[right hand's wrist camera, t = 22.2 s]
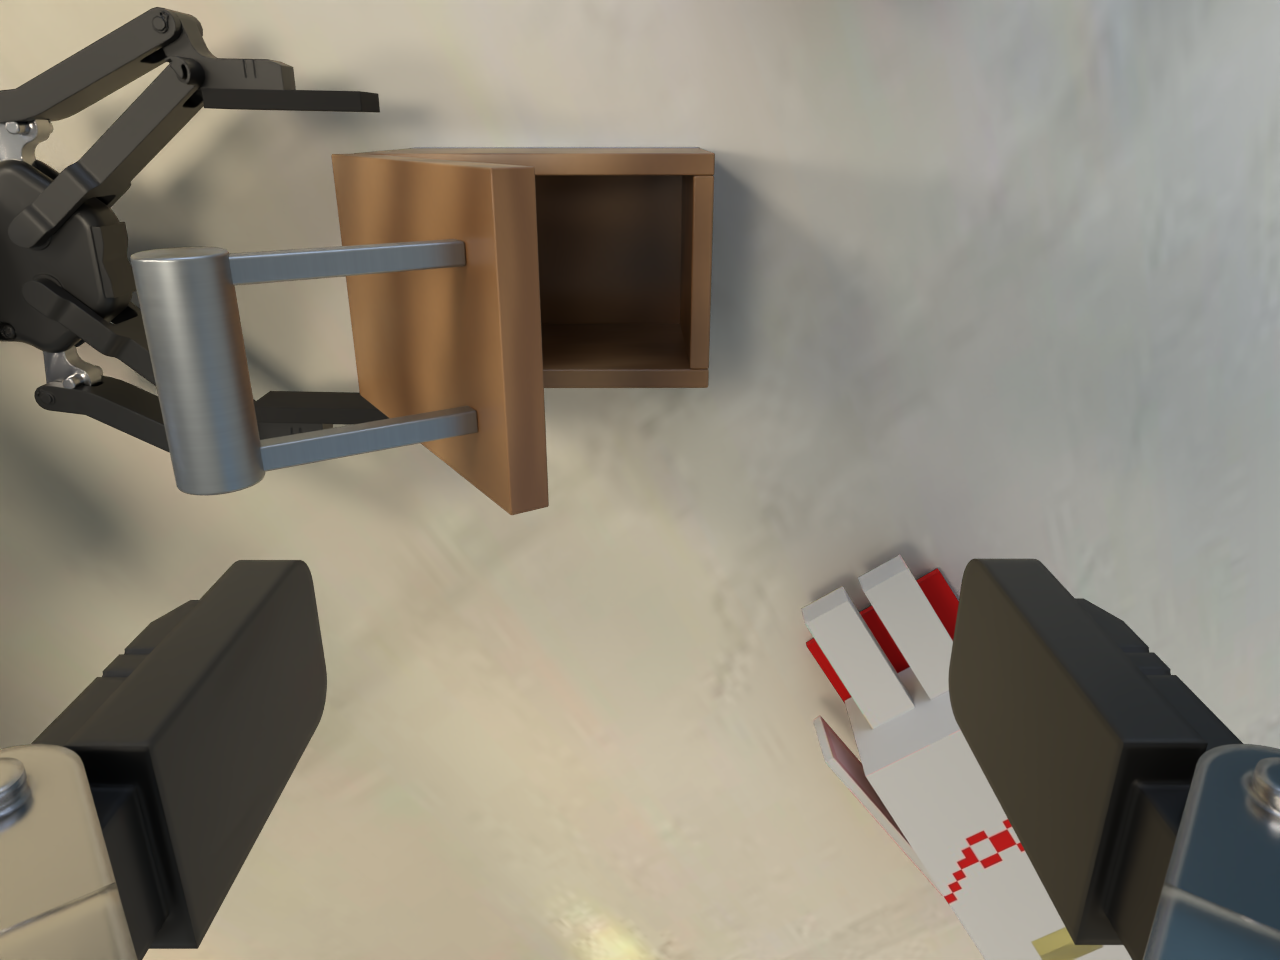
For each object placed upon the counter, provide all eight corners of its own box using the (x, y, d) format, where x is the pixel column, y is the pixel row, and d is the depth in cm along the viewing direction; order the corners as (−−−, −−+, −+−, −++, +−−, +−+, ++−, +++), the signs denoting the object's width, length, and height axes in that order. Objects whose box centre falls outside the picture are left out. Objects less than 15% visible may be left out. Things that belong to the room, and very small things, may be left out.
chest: (698, 147, 45) (715, 152, 35) (694, 335, 49) (708, 388, 39) (414, 147, 45) (352, 153, 35) (431, 335, 49) (378, 388, 39)
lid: (535, 166, 23) (121, 176, 18) (549, 506, 27) (204, 588, 22) (363, 153, 35) (84, 157, 30) (388, 390, 38) (142, 427, 34)
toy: (979, 573, 43) (1243, 1020, 48) (918, 496, 56) (1132, 856, 61) (761, 689, 46) (1034, 1102, 51) (751, 590, 58) (970, 928, 64)
